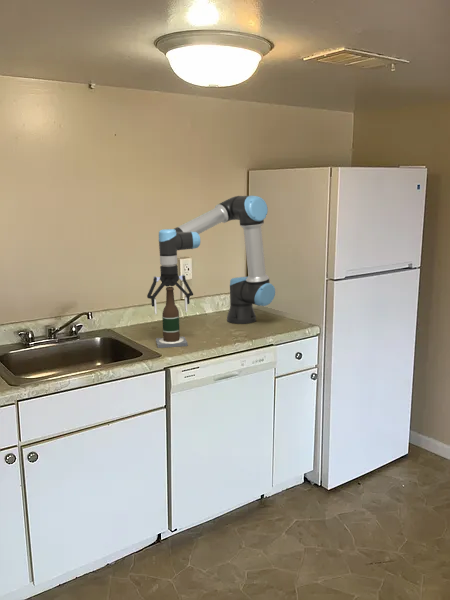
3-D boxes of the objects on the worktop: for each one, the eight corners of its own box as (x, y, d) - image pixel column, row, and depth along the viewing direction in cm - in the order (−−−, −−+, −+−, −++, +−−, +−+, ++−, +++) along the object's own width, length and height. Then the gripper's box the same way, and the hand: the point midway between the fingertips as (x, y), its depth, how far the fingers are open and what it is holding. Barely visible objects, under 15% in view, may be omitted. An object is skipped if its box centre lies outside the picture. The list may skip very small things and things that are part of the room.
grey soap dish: (184, 339, 255) (184, 336, 255) (187, 346, 245) (187, 342, 244) (156, 341, 253) (155, 337, 253) (157, 348, 242) (157, 344, 242)
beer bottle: (165, 343, 244) (164, 289, 239) (160, 339, 251) (158, 286, 246) (182, 341, 247) (181, 287, 242) (177, 336, 254) (175, 285, 249)
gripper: (195, 262, 248) (197, 308, 252) (139, 265, 243) (142, 312, 248) (198, 264, 241) (200, 312, 245) (140, 267, 236) (143, 316, 240)
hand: (171, 312), depth 246 cm, fingers open, 13 cm apart
